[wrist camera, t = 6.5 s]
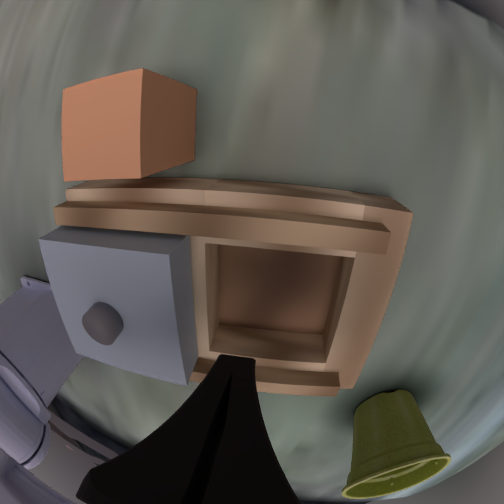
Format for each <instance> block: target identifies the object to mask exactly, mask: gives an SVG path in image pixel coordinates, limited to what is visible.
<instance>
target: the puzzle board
mask: <svg viewBox="0 0 504 504" xmlns="http://www.w3.org/2000/svg"><path fill="white" fill-rule="evenodd" d="M66 199H67V201H66V202H64V203H62V204H59V205H57V206H55V207H53V209H54V216H55V222H56V225H66V226H80V227H93V228H106V229H118V230H131V231H143V232H155V233H167V234H179V235H190V250H191V270H192V287H193V301H194V314H195V325H196V336H197V346H198V359H197V361H196V364H195V366H194V369H193V371H192V374H191V377H190V379H189V380H190V381H195V382H200V383H201V382H202V381H203V379H204V378H205V377H206V375H207V374H208V372H209V371H210V369H211V368H212V366H213V365H214V363H215V361H216V360H217V358H218V356H219V355H221V354H226V355H233V356H241V357H249V358H254V359H255V360H256V365H255V378H256V388H257V391H259V392H268V393H279V394H292V395H309V396H336V395H337V393H338V391H339V389H353V387H354V385H355V383H356V381H357V379H358V377H359V375H360V373H361V370H362V368H363V366H364V364H365V362H366V359H367V357H368V355H369V353H370V350H371V348H372V345H373V343H374V341H375V338H376V336H377V333H378V331H379V328H380V325H381V323H382V320H383V317H384V315H385V312H386V309H387V306H388V304H389V301H390V298H391V295H392V292H393V289H394V286H395V282H396V279H397V276H398V273H399V269H400V266H401V262H402V259H403V255H404V251H405V248H406V244H407V240H408V236H409V231H410V227H411V223H412V218H413V212H411V211H410V210H409V209H407V208H406V207H404V206H403V205H402V204H400V203H399V202H397V201H396V200H394V199H393V198H390V197H384V196H378V195H372V194H365V193H359V192H352V191H344V190H337V189H329V188H321V187H312V186H303V185H293V184H283V183H271V182H259V181H245V180H228V179H206V178H166V177H143V178H136V179H100V180H90V181H87V182H84V183H81V184H79V185H76V186H73V187H70V188H68V189H66Z"/></svg>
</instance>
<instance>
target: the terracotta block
mask: <svg viewBox="0 0 504 504" xmlns="http://www.w3.org/2000/svg"><path fill="white" fill-rule="evenodd" d="M196 98H197V89H194V88H192V87H190V86H187V85H185V84H183V83H180V82H178V81H175V80H173V79H170V78H168V77H165V76H163V75H160V74H158V73H155V72H152V71H149V70H147V69H144V68H142V69H136V70H132V71H127V72H122V73H118V74H114V75H110V76H106V77H102V78H98V79H95V80H91V81H88V82H85V83H81V84H78V85H75V86H72V87H69V88H66V89H63V101H62V158H63V173H64V182H65V181H80V180H100V179H136V178H143V177H146V176H149V175H152V174H154V173H157V172H160V171H163V170H166V169H169V168H172V167H175V166H178V165H181V164H184V163H187V162H190V161H193V160H195V123H196Z"/></svg>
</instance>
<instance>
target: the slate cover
mask: <svg viewBox="0 0 504 504" xmlns="http://www.w3.org/2000/svg"><path fill="white" fill-rule="evenodd" d="M38 240H39V244H40V248H41V253H42V257H43V261H44V265H45V268H46V272H47V275H48V279H49V282H50V285H51V289H52V292H53V295H54V298H55V301H56V304H57V307H58V310H59V312H60V315H61V318H62V320H63V323H64V325H65V328H66V330H67V333H68V335H69V338H70V340H71V342H72V345H73V347H74V349H75V352H76V353H78V354H80V355H83V356H86V357H88V358H91V359H94V360H97V361H99V362H102V363H105V364H108V365H111V366H114V367H117V368H120V369H124V370H127V371H130V372H134V373H137V374H141V375H144V376H148V377H151V378H155V379H159V380H163V381H167V382H171V383H176V384H180V385H185V386H187V385H188V382H189V379H190V377H191V374H192V371H193V369H194V366H195V364H196V361H197V359H198V346H197V336H196V325H195V314H194V301H193V287H192V270H191V250H190V235H179V234H167V233H155V232H143V231H131V230H118V229H106V228H93V227H80V226H66V225H62V226H60V227H59V228H57V229H55V230H53V231H52V232H50V233H48V234H46V235H45V236H43V237H41V238H40V239H38Z"/></svg>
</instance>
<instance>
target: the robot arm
mask: <svg viewBox="0 0 504 504" xmlns="http://www.w3.org/2000/svg"><path fill="white" fill-rule="evenodd" d="M21 283H22V287H21V288H20V289H19V290H17V291H16V292H15V293H14V294H13V295H11V296H10V297H9V298H8V299H7V300H5V301H4V302H3V303H2V304H1V305H0V504H77V503H75V502H73V501H71V500H70V499H68V498H66V497H65V496H63V495H62V494H60V493H58V492H57V491H55V490H54V489H52V488H51V487H49V486H48V485H46V484H45V483H44V482H42V481H41V480H39V479H38V478H37V477H35V476H34V475H33V474H32V473H31V472H30V471H28V470H29V469H32V468H34V467H36V466H37V465H38V464H40V463H41V462H42V460H43V459H44V458H45V456H46V454H47V452H48V450H49V446H50V441H51V430H50V426H49V424H48V420H49V418H50V417H51V414H50V413H49V412H48V411H47V410H46V409H47V407H48V406H49V404H50V403H51V401H52V400H53V398H54V397H55V395H56V394H57V393H58V391H59V390H60V388H61V387H62V385H63V384H64V383H65V381H66V380H67V379H68V377H69V376H70V374H71V373H72V372H73V370H74V369H75V368H76V366H77V365H78V364H79V362H80V361H81V360H82V358H83V357H84V356H83V355H80V354H78V353H76V352H75V349H74V347H73V345H72V342H71V340H70V338H69V335H68V333H67V330H66V328H65V325H64V323H63V320H62V318H61V315H60V312H59V310H58V307H57V304H56V301H55V298H54V295H53V292H52V289H51V285H50V283H46V282H43V281H39V280H36V279H32V278H29V277H25V276H22V277H21ZM255 365H256V360H255V359H254V358H249V357H241V356H233V355H226V354H221V355H219V356H218V358H217V360H216V361H215V363H214V365H213V366H212V368H211V369H210V371H209V372H208V374H207V375H206V377H205V378H204V379H203V381H202V382H201V383H200V384H199V386H198V387H197V388H196V390H195V391H194V392H193V393H192V395H191V396H190V397H189V398H188V399H187V400H186V401H185V402H184V403H183V405H182V406H181V407H180V408H179V409H178V410H177V411H176V412H175V413H174V414H173V415H172V416H171V417H170V418H169V419H168V420H167V421H166V422H164V423H163V424H162V425H161V426H160V427H159V428H158V429H156V430H155V431H154V432H153V433H151V434H150V435H149V436H147V437H146V438H145V439H143V440H142V441H141V442H139V443H138V444H136V445H135V446H133V447H132V448H130V449H128V450H127V451H125V452H123V453H122V454H120V455H119V456H117V457H115V458H113V459H111V460H109V461H107V462H105V463H103V464H101V465H98V466H96V467H94V468H92V469H91V470H90V471H89V472H88V474H87V475H86V476H85V478H84V479H83V481H82V483H81V485H80V488H79V490H78V492H77V494H76V497H77V498H78V499H80V500H81V501H83V502H85V503H87V504H301V503H300V501H299V500H298V498H297V496H296V495H295V493H294V491H293V490H292V488H291V486H290V484H289V482H288V480H287V478H286V476H285V474H284V472H283V470H282V468H281V466H280V464H279V462H278V460H277V457H276V455H275V453H274V450H273V448H272V445H271V442H270V440H269V437H268V434H267V431H266V427H265V424H264V420H263V417H262V413H261V409H260V404H259V399H258V394H257V388H256V378H255Z"/></svg>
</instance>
